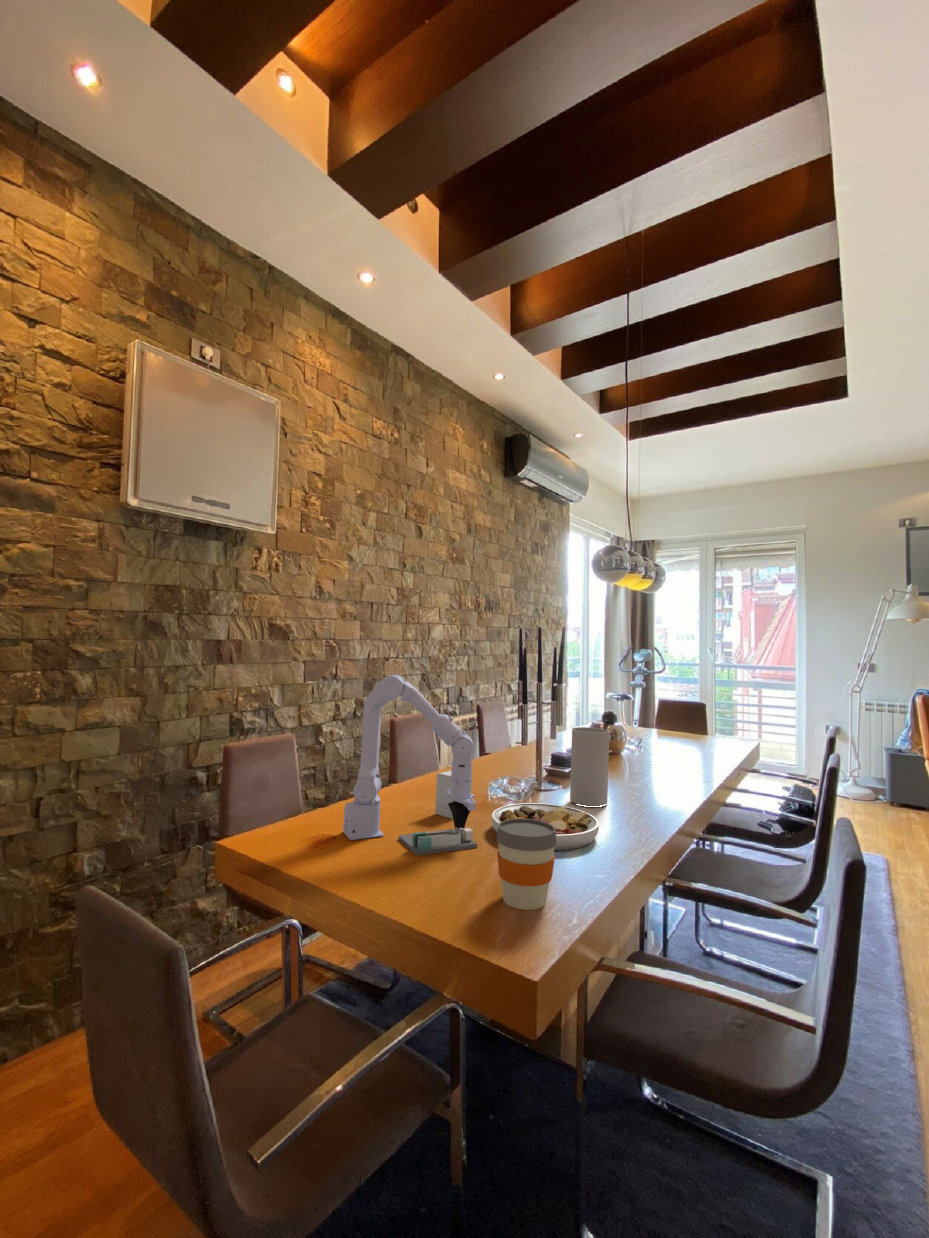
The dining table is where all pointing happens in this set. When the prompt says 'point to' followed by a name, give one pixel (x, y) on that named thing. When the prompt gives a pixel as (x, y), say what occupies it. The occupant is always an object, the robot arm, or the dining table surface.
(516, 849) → the reusable coffee cup
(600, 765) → the cylinder vase
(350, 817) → the robot arm
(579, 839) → the bowl
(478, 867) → the dining table surface
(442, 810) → the supplement box
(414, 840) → the tong arm
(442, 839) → the tongs fixed
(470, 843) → the slate board
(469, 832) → the tab
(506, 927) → the dining table surface
